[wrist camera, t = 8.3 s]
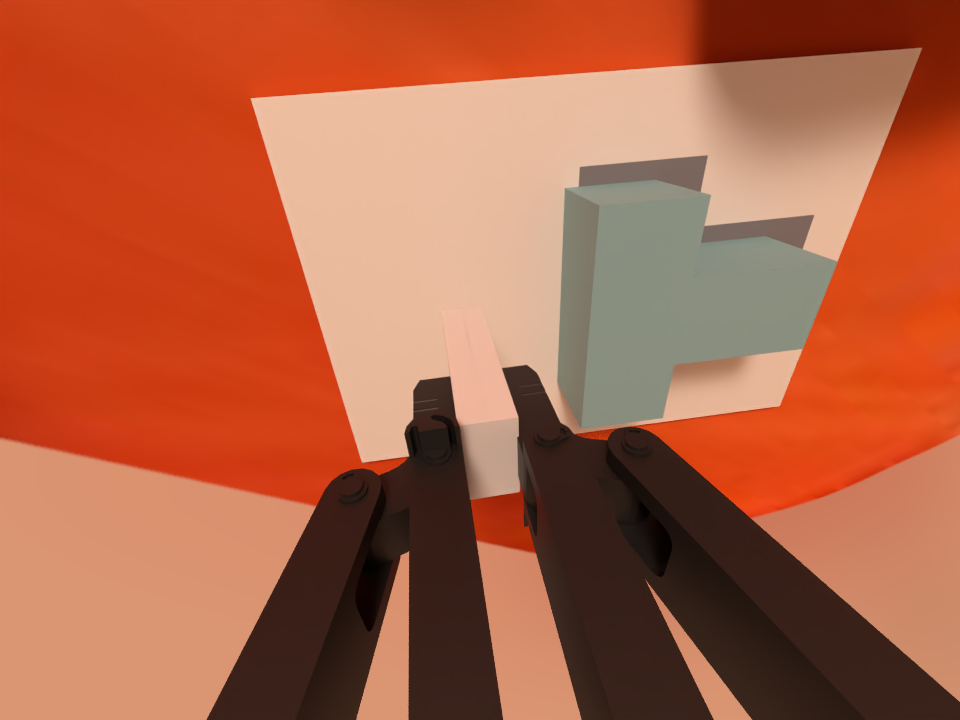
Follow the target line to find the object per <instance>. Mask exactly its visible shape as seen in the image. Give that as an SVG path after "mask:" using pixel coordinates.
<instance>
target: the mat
mask: <svg viewBox="0 0 960 720" xmlns="http://www.w3.org/2000/svg"><path fill="white" fill-rule="evenodd" d="M921 50H922V48H912V49H898V50H885V51H872V52H859V53H845V54H832V55H819V56H806V57H792V58H779V59H766V60H753V61H740V62H726V63H713V64H700V65H687V66H673V67H660V68H647V69H634V70H620V71H607V72H594V73H581V74H568V75H554V76H541V77H528V78H515V79H501V80H488V81H475V82H462V83H448V84H435V85H422V86H409V87H396V88H382V89H369V90H356V91H343V92H329V93H316V94H303V95H290V96H276V97H263V98H251V101H252V104H253V107H254V111H255V114H256V117H257V120H258V124H259V127H260V130H261V133H262V137H263V140H264V143H265V147H266V150H267V153H268V156H269V160H270V163H271V166H272V169H273V173H274V176H275V179H276V183H277V186H278V189H279V192H280V196H281V199H282V202H283V205H284V209H285V212H286V215H287V219H288V222H289V225H290V228H291V232H292V235H293V238H294V241H295V245H296V248H297V251H298V255H299V258H300V261H301V264H302V268H303V271H304V274H305V277H306V281H307V284H308V287H309V291H310V294H311V297H312V300H313V304H314V307H315V310H316V313H317V317H318V320H319V323H320V327H321V330H322V333H323V336H324V340H325V343H326V346H327V349H328V353H329V356H330V359H331V363H332V366H333V369H334V372H335V376H336V379H337V382H338V386H339V389H340V392H341V395H342V399H343V402H344V405H345V408H346V412H347V415H348V418H349V422H350V425H351V428H352V431H353V435H354V438H355V441H356V444H357V448H358V451H359V454H360V458H361V461H362V463H363V462H370V461H378V460H385V459H392V458H400V457H407V456H409V453H408V449H407V444H406V440H405V435H404V433H405V429H406V426H407V425H408V424H409V423H410V422H411V421H412V420H413V390H414V388H415V387H416V385H417V384H418V382H419V380H425V379H433V378H440V377H448V376H450V373H449V366H448V358H447V351H446V343H445V335H444V327H443V320H442V312H441V311H445V310H454V309H462V308H470V307H478V306H481V309H482V312H483V315H484V318H485V321H486V324H487V326H488V329H489V332H490V335H491V338H492V341H493V344H494V347H495V350H496V353H497V356H498V359H499V362H500V365H501V368H506V367H514V366H521V365H528V366H529V367H530V368H532V369H533V370H534V371H536V372H537V374H538V376H539V378H540V380H541V382H542V384H543V386H544V389H545V392H546V393H547V395H548V397H549V399H550V401H551V404H552V406H553V408H554V410H555V412H556V414H557V416H558V419H559V421H560V423H562V424H564V425H566V426H567V427H569V428H570V430H571V431H572V432H573V433H574V434H577V433H584V432H592V431H599V430H607V429H614V428H621V427H629V426H636V425H643V424H651V423H658V422H666V421H673V420H680V419H688V418H695V417H702V416H710V415H717V414H725V413H732V412H739V411H747V410H754V409H762V408H769V407H776V406H780V404H781V402H782V399H783V397H784V394H785V391H786V389H787V386H788V384H789V381H790V379H791V376H792V374H793V371H794V369H795V366H796V364H797V361H798V359H799V356H800V354H801V351H802V349H798V350H790V351H782V352H774V353H766V354H758V355H750V356H742V357H734V358H726V359H718V360H710V361H702V362H694V363H686V364H678V365H674V369H673V374H672V378H671V383H670V387H669V392H668V397H667V401H666V406H665V411H664V415H663V418H660V419H653V420H645V421H638V422H630V423H623V424H615V425H608V426H600V427H592V428H585V429H581V428H580V426H579V424H578V422H577V420H576V418H575V416H574V414H573V412H572V410H571V408H570V406H569V404H568V402H567V400H566V398H565V396H564V394H563V392H562V390H561V388H560V386H559V384H558V382H557V373H558V348H559V323H560V298H561V272H562V247H563V222H564V196H565V188H570V187H581V186H592V185H603V184H614V183H624V182H635V181H646V180H658V181H662V182H666V183H669V184H673V185H677V186H680V187H684V188H688V189H691V190H695V191H698V192H702V193H706V194H709V195H711V198H710V203H709V207H708V212H707V216H706V221H705V226H704V230H703V235H702V240H701V243H705V242H715V241H724V240H734V239H744V238H753V237H763V236H766V237H769V238H772V239H775V240H778V241H781V242H783V243H786V244H789V245H792V246H795V247H798V248H801V249H803V250H806V251H809V252H812V253H815V254H818V255H820V256H823V257H826V258H829V259H832V260H835V261H838V259H839V256H840V253H841V251H842V248H843V246H844V243H845V241H846V238H847V236H848V233H849V231H850V228H851V226H852V223H853V221H854V218H855V216H856V213H857V211H858V208H859V206H860V203H861V201H862V198H863V196H864V193H865V191H866V188H867V186H868V183H869V181H870V178H871V176H872V173H873V171H874V168H875V166H876V163H877V161H878V158H879V156H880V153H881V151H882V148H883V146H884V143H885V141H886V138H887V136H888V133H889V131H890V128H891V126H892V123H893V121H894V118H895V115H896V113H897V110H898V108H899V105H900V103H901V100H902V98H903V95H904V93H905V90H906V88H907V85H908V83H909V80H910V78H911V75H912V73H913V70H914V68H915V65H916V63H917V60H918V58H919V55H920V53H921Z"/></svg>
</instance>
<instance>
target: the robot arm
mask: <svg viewBox="0 0 960 720" xmlns="http://www.w3.org/2000/svg"><path fill="white" fill-rule="evenodd" d="M441 312H442V320H443V327H444V335H445V343H446V351H447V358H448V366H449V373H450V376H448V377H440V378H433V379H425V380H419V382H418V384H417V385H416V387H415V388H414V390H413V420H412V421H411V422H410V423H409V424H408V425H407V426H406V429H405V433H404V435H405V440H406V444H407V449H408V453H409V457H408V458H407V460H406V461H405V462H404V463H402V464H401V465H400V466H399V467H397V468H395V469H393V470H391V471H389V472H386V473H384V474H381V475H379V476H378V475H377V474H376V473H374V472H373V471H372V470H367V469H354V470H350V471H347V472H345V473H343V474H340V475H339V476H338V477H336V478H335V479H334V480H332V481H331V483H330V484H329V485H328V487H327V488H326V489H325V491H324V493H323V495H322V497H321V499H320V501H319V503H318V505H317V506H316V508H315V510H314V512H313V514H312V516H311V518H310V520H309V522H308V524H307V526H306V528H305V530H304V532H303V534H302V536H301V538H300V539H299V541H298V543H297V545H296V547H295V549H294V551H293V553H292V555H291V557H290V559H289V561H288V563H287V565H286V567H285V569H284V571H283V572H282V574H281V576H280V579H279V580H278V582H277V584H276V586H275V588H274V590H273V592H272V594H271V596H270V598H269V600H268V602H267V604H266V606H265V607H264V609H263V611H262V613H261V615H260V617H259V619H258V621H257V623H256V625H255V627H254V629H253V631H252V633H251V635H250V637H249V638H248V640H247V642H246V645H245V646H244V648H243V650H242V652H241V654H240V656H239V658H238V660H237V662H236V664H235V666H234V668H233V670H232V671H231V674H230V675H229V677H228V679H227V681H226V683H225V685H224V687H223V689H222V691H221V693H220V695H219V697H218V699H217V701H216V703H215V705H214V707H213V709H212V711H211V712H210V714H209V716H208V718H207V720H356V718H357V714H358V710H359V707H360V703H361V699H362V696H363V692H364V688H365V685H366V681H367V678H368V674H369V670H370V666H371V663H372V660H373V656H374V652H375V648H376V645H377V641H378V638H379V634H380V630H381V626H382V623H383V619H384V616H385V612H386V609H387V605H388V601H389V598H390V594H391V590H392V587H393V583H394V580H395V575H396V572H397V569H398V565H399V561H400V555H402V554H404V553H406V552H408V551H409V720H503V716H502V709H501V703H500V696H499V689H498V683H497V677H496V669H495V662H494V656H493V649H492V643H491V636H490V629H489V623H488V616H487V609H486V602H485V596H484V589H483V582H482V577H481V570H480V563H479V556H478V549H477V542H476V535H475V529H474V522H473V515H472V509H471V502H470V500H473V499H479V498H485V497H492V496H498V495H504V494H510V493H516V492H520V484H521V487H522V491H523V494H524V527H525V526H528V525H529V529H530V532H531V536H532V540H533V543H534V547H535V551H536V554H537V558H538V562H539V565H540V569H541V573H542V576H543V580H544V584H545V587H546V591H547V594H548V598H549V602H550V605H551V609H552V613H553V616H554V620H555V624H556V627H557V631H558V634H559V638H560V642H561V646H562V649H563V653H564V657H565V660H566V664H567V667H568V671H569V675H570V678H571V682H572V686H573V690H574V693H575V697H576V701H577V704H578V708H579V711H580V715H581V719H582V720H714V719H713V717H712V715H711V713H710V711H709V709H708V707H707V705H706V703H705V701H704V699H703V697H702V695H701V693H700V691H699V689H698V687H697V685H696V683H695V681H694V679H693V677H692V674H691V672H690V670H689V668H688V666H687V664H686V662H685V660H684V658H683V656H682V654H681V652H680V650H679V648H678V646H677V644H676V642H675V640H674V638H673V636H672V634H671V631H670V630H669V627H668V625H667V623H666V621H665V619H664V617H663V615H662V613H661V611H660V609H659V607H658V605H657V603H656V601H655V599H654V597H653V595H652V593H651V591H650V588H649V587H648V584H647V582H648V583H649V585H650V586H651V587H652V588H653V590H654V591H655V593H656V594H657V595H658V596H659V598H660V599H661V600H662V602H663V603H664V604H665V606H666V607H667V608H668V609H669V611H670V612H671V614H672V615H673V616H674V617H675V619H676V620H677V621H678V623H679V624H680V625H681V626H682V628H683V629H684V631H685V632H686V633H687V635H688V636H689V637H690V638H691V640H692V641H693V642H694V644H695V645H696V646H697V648H698V649H699V650H700V652H701V653H702V654H703V656H704V657H705V658H706V660H707V661H708V662H709V663H710V665H711V666H712V667H713V669H714V670H715V671H716V673H717V674H718V675H719V676H720V678H721V679H722V681H723V682H724V683H725V684H726V686H727V687H728V688H729V689H730V691H731V692H732V694H733V695H734V696H735V698H736V699H737V700H738V701H739V703H740V704H741V705H742V707H743V708H744V709H745V711H746V712H747V713H748V715H749V716H750V717H751V719H752V720H960V702H959V701H958V700H957V699H956V698H955V697H953V696H952V695H951V694H950V693H949V692H948V691H947V690H945V689H944V688H943V687H942V686H941V685H940V684H939V683H937V682H936V681H935V680H934V679H933V678H932V677H931V676H929V675H928V674H927V673H926V672H925V671H924V670H922V669H921V668H920V667H919V666H918V665H917V664H916V663H915V662H914V661H912V660H911V659H910V658H909V657H908V656H907V655H905V654H904V653H903V652H902V651H901V650H900V649H899V648H898V647H896V646H895V645H894V644H893V643H892V642H890V641H889V639H887V638H886V637H885V636H884V635H883V634H882V633H880V632H879V631H878V630H877V629H876V628H875V627H874V626H873V625H871V624H870V623H869V622H868V621H867V620H866V619H865V618H863V617H862V616H861V615H860V614H859V613H858V612H857V611H856V610H854V609H853V608H852V607H851V606H850V605H849V604H848V603H846V602H845V601H844V600H843V599H842V598H841V597H839V596H838V595H837V594H836V593H835V592H834V591H833V590H832V589H830V588H829V587H828V586H827V585H826V584H825V583H824V582H822V581H821V580H820V579H819V578H818V577H817V576H816V575H815V574H813V573H812V572H811V571H810V570H809V569H808V568H807V567H805V566H804V565H803V564H802V563H801V562H800V561H799V560H797V559H796V558H795V557H794V556H793V555H792V554H790V553H789V552H788V551H787V550H786V549H785V548H783V546H781V545H780V544H779V543H778V542H777V541H776V540H775V539H773V538H772V537H771V536H770V535H769V534H768V533H767V532H766V531H764V530H763V529H762V528H761V527H760V526H759V525H757V524H756V523H755V522H754V521H753V520H752V519H751V518H750V517H748V516H747V515H746V514H745V513H744V512H743V511H742V510H741V509H739V508H738V507H737V506H736V505H735V504H734V503H733V502H731V501H730V500H729V499H728V498H727V497H726V496H725V495H723V494H722V493H721V492H720V491H719V490H718V489H717V488H715V487H714V486H713V485H712V484H711V483H710V482H709V481H707V480H706V479H705V478H704V477H703V476H702V475H701V474H700V473H698V472H697V471H696V470H695V469H694V468H693V467H692V466H690V465H689V464H688V463H687V462H686V461H685V460H684V459H682V458H681V457H680V456H679V455H678V454H677V453H676V452H674V451H673V450H672V449H671V448H670V447H669V446H668V445H666V444H665V443H664V442H663V441H662V440H661V439H660V438H659V437H657V436H656V435H654V434H653V433H651V432H649V431H647V430H644V429H641V428H636V427H624V428H619V429H617V430H615V431H614V432H612V433H611V435H610V436H609V438H608V441H607V440H596V439H588V438H582V437H579V436H577V435H574V433H573V432H572V431H571V430H570V428H569V427H567V426H566V425H564V424H562V423H560V421H559V419H558V416H557V414H556V412H555V410H554V408H553V406H552V404H551V401H550V399H549V397H548V395H547V393H546V392H545V389H544V386H543V384H542V382H541V380H540V378H539V376H538V374H537V372H536V371H534V370H533V369H532V368H530V367H529V366H528V365H521V366H514V367H506V368H501V365H500V362H499V359H498V356H497V353H496V350H495V347H494V344H493V341H492V338H491V335H490V332H489V329H488V326H487V324H486V321H485V318H484V315H483V312H482V309H481V306H478V307H470V308H462V309H454V310H445V311H441ZM645 579H646V580H645ZM646 581H647V582H646Z"/></svg>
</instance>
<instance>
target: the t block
mask: <svg viewBox="0 0 960 720" xmlns="http://www.w3.org/2000/svg"><path fill="white" fill-rule="evenodd" d="M710 198H711V195H709V194H706V193H702V192H698V191H695V190H691V189H688V188H684V187H680V186H677V185H673V184H669V183H666V182H662V181H658V180H646V181H635V182H624V183H614V184H603V185H592V186H581V187H570V188H565V196H564V222H563V247H562V272H561V298H560V323H559V348H558V373H557V382H558V384H559V386H560V388H561V390H562V392H563V394H564V396H565V398H566V400H567V402H568V404H569V406H570V408H571V410H572V412H573V414H574V416H575V418H576V420H577V422H578V424H579V426H580V428H581V429H585V428H592V427H600V426H608V425H615V424H623V423H630V422H638V421H645V420H653V419H660V418H663V415H664V411H665V406H666V401H667V397H668V392H669V387H670V383H671V378H672V374H673V369H674V365H678V364H686V363H694V362H702V361H710V360H718V359H726V358H734V357H742V356H750V355H758V354H766V353H774V352H782V351H790V350H798V349H803V347H804V345H805V342H806V340H807V337H808V335H809V332H810V330H811V327H812V325H813V322H814V320H815V317H816V315H817V312H818V310H819V307H820V305H821V302H822V300H823V298H824V295H825V293H826V290H827V288H828V285H829V283H830V280H831V278H832V275H833V273H834V270H835V268H836V265H837V263H838V261H835V260H832V259H829V258H826V257H823V256H820V255H818V254H815V253H812V252H809V251H806V250H803V249H801V248H798V247H795V246H792V245H789V244H786V243H783V242H781V241H778V240H775V239H772V238H769V237H766V236H763V237H753V238H744V239H734V240H724V241H715V242H705V243H701V240H702V235H703V230H704V226H705V221H706V216H707V212H708V207H709V203H710Z"/></svg>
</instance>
